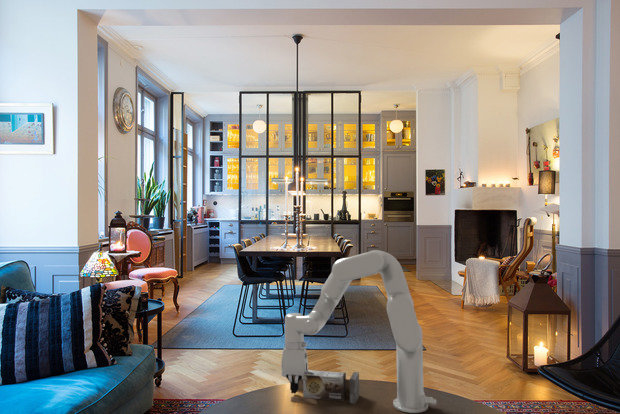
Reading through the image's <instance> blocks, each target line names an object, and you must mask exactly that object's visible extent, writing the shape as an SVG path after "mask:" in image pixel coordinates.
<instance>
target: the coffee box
mask: <svg viewBox="0 0 620 414" xmlns="http://www.w3.org/2000/svg"><path fill="white" fill-rule="evenodd" d="M346 379H347V374H346V372H343V371H341V372H339V371H325V370H311V369H308V372H307V373H306V374H304V375H303V391H302V392H303V393H302V398H308V399H317V400H324V401H325V400H326V401H336V402H337V401H339V402H345V399H346V397H347V395H346Z"/></svg>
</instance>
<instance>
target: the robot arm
mask: <svg viewBox="0 0 620 414" xmlns="http://www.w3.org/2000/svg"><path fill="white" fill-rule="evenodd" d="M377 274H380V276H381V280H382V283H383V286H384V289H385V292H386V297H387V302H386V312H387V316H388V320H389V324H390V328H391V332H392V335H393V337H394V342H395V343H396V348H395V349H396V398H395V399H393V402H392V404H393V407H394V408H395V409H396V410H398V411H400V412H403V413H409V414H419V413H423V412H426V411H427V410H428V409H429V405H431V406H437V399H435V398H434V397H432V396H427V395H425V393H426V392H424V360H423V359H424V355H423V353H424V352H423V351H424V350H423V348H424V346H423V329H422V326H421V325H420V323H419V321H418V318H417V315H416V311H415V308H414V307H415V305H414V304H415V303H414V300H413V298H412V296H411V295H412V294H411V292H410V289H409V285H408V282H407V279H406V275H405V273H404V271H403V268H402V265H401V263H400V262H399V261H398V260H397V258H396V257H395V256H393V255H392V254H390V253H389V252H386V251H383V250H378V249H373V250H369V251H367V252H364V253H360V254H356V255H352V256H348V257H341V258H340V259H337V260H336V261H335V262H334V263H333V264H332V267H331V272H330V274H329V275H328V278H326V281H325V282H324V283H323V285H322V287H321V289H320V296H319V298H318V300H317V302H316V304H315V305H314V307H313V308H312V310H311V312H310V313H309V314H306V315H303V314H302V313H299V312H289V313H287V314H286V315H285V317H284V347H283V349H282V354H281V365H280V371H281V376H282V377H284V378H286V379H287V380H288V382H289V383H290V384H289V386H290V387H289V388H290V389H289V390H290V393H291V394H296V393H298V391H300V390H299V381H300V380H301V379H303V375H304V374H306V373H307V372H308V370H309V361H308V352H307V349H306V347H308V343H307V342H306V341H305V340H304V335H308V336H313V335H316V334H317V333H318V332H320V331H321V330H322V329H323V327H324V326H325V325H326V323H327V321H328V320H329V319H330V317H331V315H332V313H333V312H334V310H335V308H336V307H337V305H338V304H339V302H340V301H341V299H342V297H343V296H344V294H345V293H346V291H347V289H348V288H349V286H350V284H351V283H352V281H353V280H358V279H361V278H364V277H365V278H366V277H370V276H374V275H377ZM294 375H296V376H295V380H294Z"/></svg>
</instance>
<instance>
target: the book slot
mask: <svg viewBox="0 0 620 414" xmlns="http://www.w3.org/2000/svg"><path fill="white" fill-rule="evenodd" d="M295 376H296V375H294V380H295ZM298 391H302V392H303V379H301V380H300V381H299V390H298ZM348 395H350V396H349V404H350V403H351V404H352V405H356V404H355V403H357V401H358V399H359V396H360V372H359V371H353V373H352V374H351V376H350V378H346V396H348ZM290 402H294V403H302V404H311V405H317V404H318V399H310V398H303V397H297V396H291V397H290Z"/></svg>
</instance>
